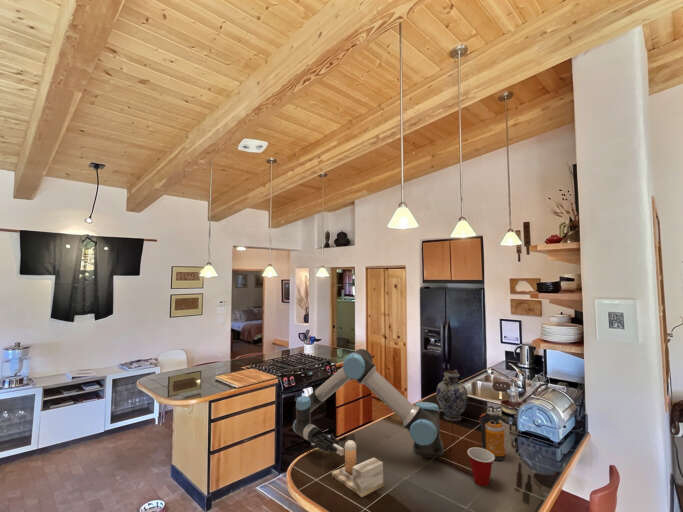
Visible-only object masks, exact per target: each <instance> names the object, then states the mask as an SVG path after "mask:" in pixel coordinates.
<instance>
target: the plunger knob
mask: <svg viewBox="0 0 683 512" xmlns="http://www.w3.org/2000/svg"><path fill="white" fill-rule="evenodd" d="M356 465H357V443H356V442H355V441H354V440H353V439H352V440H351V439H349V440H347V441H346V442H345V444H344V467H345V472H347V473H348V474H350V475H351V476H353V466H356Z"/></svg>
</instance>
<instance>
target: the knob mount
mask: <svg viewBox="0 0 683 512" xmlns="http://www.w3.org/2000/svg"><path fill="white" fill-rule="evenodd" d="M331 476H332V477H333V478H335V480H337V481H339V482H340V483H341V484H343V485H344V486H345V487H347V488H348V489H350V490H351V491H353V492H354V493H355V494H357V495H358V496H359V497H360V498H363V497H365V496H367V495H369V494H371V493H373V492H375V491H376V490H378V489H380V488H382V487H384V462H383V461H381V460H379V459H378V458H376V457H372V458H369V459H366V460H364V461H363V462H360V463H357V464H356V466H353V476H351V475H350V474H348V473H347V472H345V466H343V467H341V468H338V469H336V470H334V471H331Z"/></svg>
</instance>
